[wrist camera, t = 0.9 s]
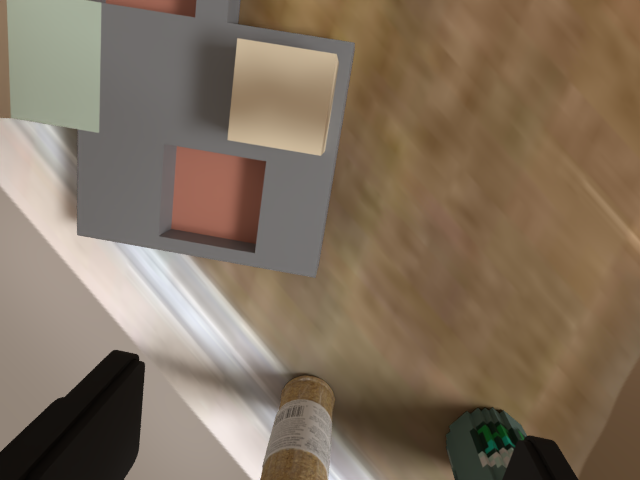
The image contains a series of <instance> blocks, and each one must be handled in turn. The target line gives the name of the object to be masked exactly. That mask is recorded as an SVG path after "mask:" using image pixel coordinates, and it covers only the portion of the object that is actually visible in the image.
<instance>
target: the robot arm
mask: <svg viewBox="0 0 640 480" xmlns="http://www.w3.org/2000/svg"><path fill="white" fill-rule="evenodd" d="M144 372H145V364H144V362H142V361H139V356H138V355H137V354H133V353H129V352H124V351H119V350H113V351H112V352H111V353H110V354H109V355H108V356H107V357H106V358H104V359H103V360H102V361H101V362H100V363H99V364H98V365H97V366H96V367H95V368H94V369H93V370H92V371H91V372H90V373H89V374H88V375H87V376H86V377H85V378H84V379H83V380H82V381H81V382H80V383H79V384H78V385H77V386H76V387H75V388H74V389H72V390H71V391H70V392H69V393H68V394H67V395H66V396H65V397H62V398H58V399H57V400H55V401H54V402H53V403H51V404H50V405H49V406H48V407H47V408H46V409H45V410H44V411H43V412H42V413H41V414H40V415H39V416H38V417H37V418H36V419H35V420H34V421H32V422H31V423H30V424H29V426H27V427H26V428H25V429H24V430H23V431H22V432H21V433H20V434H19V435H18V436H17V437H16V438H15V439H13V440H12V441H11V442H10V443H9V444H8V445H7V446H6V447H5V448H4V449H3V450H2V451H1V452H0V480H124V478H125V477H126V475H127V474H128V472H129V470H130V469H131V467H132V466H133V464H134V462H135V459H136V457H137V454H138V451H139V440H140V428H141V414H142V400H143V386H144ZM502 480H578V478H577V477H576V475H575V473H574V472H573V470H572V469H571V467H570V465H569V464H568V462H567V460H566V459H565V457H564V455H563V454H562V452H561V450H560V449H559V447H558V446H557V444H556V443H555V442H554V441H552V440H549V439H544V438H539V437H534V436H526V437H525V438H524V440H519V441H518V442H517V443H516V445H515V448H514V450H513V453H512V456H511V458H510V461H509V463H508V466H507V469H506V471H505V474H504V476H503V479H502Z"/></svg>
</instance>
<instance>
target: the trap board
mask: <svg viewBox="0 0 640 480" xmlns="http://www.w3.org/2000/svg"><path fill="white" fill-rule="evenodd" d="M239 9H240V0H0V118H14V119H20V120H26V121H32V122H38V123H43V124H49V125H55V126H61V127H67V128H73V129H78V169H77V235H79V236H85V237H91V238H96V239H102V240H107V241H113V242H119V243H124V244H130V245H135V246H141V247H147V248H152V249H158V250H163V251H169V252H175V253H180V254H186V255H191V256H197V257H203V258H208V259H214V260H219V261H225V262H231V263H236V264H242V265H247V266H253V267H259V268H264V269H270V270H275V271H281V272H287V273H292V274H298V275H303V276H309V277H315V278H316V274H317V270H318V266H319V260H320V254H321V248H322V242H323V236H324V230H325V224H326V218H327V212H328V206H329V200H330V194H331V188H332V182H333V176H334V170H335V164H336V158H337V152H338V146H339V140H340V134H341V128H342V122H343V116H344V110H345V104H346V98H347V92H348V86H349V81H350V75H351V69H352V63H353V57H354V51H355V43H352V42H346V41H340V40H333V39H327V38H321V37H314V36H308V35H302V34H296V33H289V32H283V31H277V30H270V29H264V28H258V27H252V26H245V25H239V24H238V20H239ZM237 38H240V39H246V40H252V41H258V42H265V43H271V44H277V45H283V46H290V47H296V48H302V49H308V50H315V51H321V52H327V53H333V54H337V57H338V61H339V66H338V72H337V78H336V85H335V91H334V97H333V104H332V110H331V116H330V122H329V129H328V135H327V141H326V148H325V152H324V153H323V154H322V155H321V156H319V155H313V154H307V153H301V152H295V151H289V150H283V149H277V148H271V147H266V146H260V145H254V144H248V143H242V142H236V141H230V140H227V139H228V129H229V118H230V108H231V98H232V88H233V78H234V67H235V57H236V47H237Z"/></svg>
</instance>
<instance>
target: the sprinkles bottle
mask: <svg viewBox="0 0 640 480" xmlns="http://www.w3.org/2000/svg"><path fill="white" fill-rule="evenodd" d="M334 403H335V398H334V394H333V391H332V389H331V388H330V386H329V385H328V384H327V383H326V382H325V381H323V380H322V379H319V378H317V377H314V376H307V375H306V376H299V377H297V378H294V379H292V380H291V381H289V382H288V383H287V384H286V385H285V387H284V389H283V390H282V394H281V403H280V407H279V411H278V412H277V415H276V418H275V421H274V425H273V429H272V432H271V436H270V440H269V443H268V447H267V451H266V455H265V458H264V462H263V466H262V467H263V470H262V475H261V479H260V480H328V475H329V463H330V450H331V437H332V413H333V408H334Z"/></svg>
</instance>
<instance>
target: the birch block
mask: <svg viewBox="0 0 640 480" xmlns="http://www.w3.org/2000/svg"><path fill="white" fill-rule="evenodd" d="M338 66H339V61H338V57H337V54H333V53H327V52H321V51H315V50H308V49H302V48H296V47H290V46H283V45H277V44H271V43H265V42H258V41H252V40H246V39H240V38H237V47H236V57H235V67H234V78H233V88H232V98H231V108H230V118H229V129H228V139H227V140H230V141H236V142H242V143H248V144H254V145H260V146H266V147H271V148H277V149H283V150H289V151H295V152H301V153H307V154H313V155H319V156H321V155H322V154H323V153H324V152H325V148H326V141H327V135H328V129H329V122H330V116H331V110H332V104H333V97H334V91H335V85H336V78H337V72H338Z"/></svg>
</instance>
